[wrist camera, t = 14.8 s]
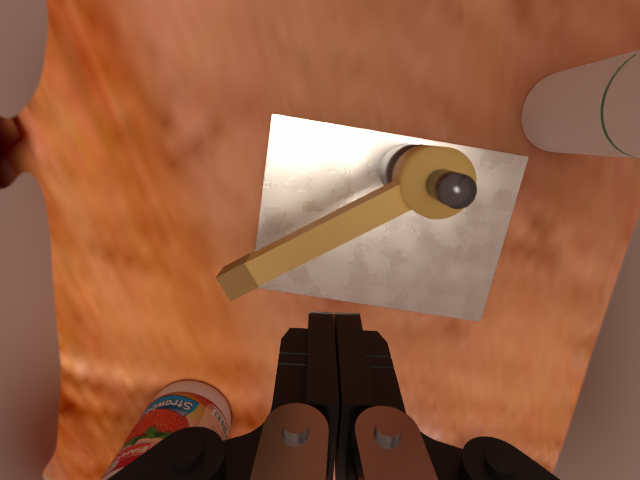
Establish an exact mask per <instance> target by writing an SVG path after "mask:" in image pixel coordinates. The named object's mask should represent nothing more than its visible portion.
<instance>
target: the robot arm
mask: <svg viewBox="0 0 640 480" xmlns="http://www.w3.org/2000/svg"><path fill="white" fill-rule="evenodd" d="M393 367H394V366H393V362H392V359H391V355H390V351H389V347H388V344H387V342H386V341H385V339H384V338H383V337H382V336H381V335H380V334H379V333H378V332H377V331H363V329H362V324H361V318H360V314H359V313H339V312H335V314H334V317H333V312H310V311H309V320H308V329H305V328H290V329H289V330H288V331H287V332H286V334H285V335H284V336H283V337H282V339H281V345H280V354H279V360H278V367H277V374H276V381H275V388H274V396H273V403H272V409H271V412H270V414H269V415H268V416H267V418H266V420H265V422H264V423H263V424H262V425H261V426H260V427H258V428H257V429H255V430H254V431H252V432H250V433H248V434H245V435H242V436H239V437H235V438H231V439H227V440H224V441H223V440H222V439H221V437H220V436H219V435H218V434H217V433H216V432H215V431H213V430H211V429H209V428H205V427H198V426H195V427H187V428H183V429H180V430H178V431H175V432H173V433H172V434H170V435H168V436H167V437H165V438H164V439H163V440H161V441H160V442H158V443H157V444H156V445H154V446H153V447H152V448H150V449H149V450H147V451H146V452H145V453H143V454H142V455H140V456H139V457H138V458H136V459H135V460H133V461H132V462H131V463H129V464H128V465H126V466H125V467H124V468H122V469H121V470H119V471H118V472H117V473H115V474H114V475H113V476H111V477H110V478H108V479H107V480H333V471H334V460H335V479H336V480H560V479H558V478H557V477H555V476H554V475H553V474H551V473H550V472H549V471H547V470H546V469H545V468H543V467H542V466H540V465H539V464H538V463H536V462H535V461H533V460H532V459H531V458H529V457H528V456H527V455H525V454H524V453H522V452H521V451H520V450H518V449H517V448H515V447H514V446H512V445H511V444H509V443H507V442H505V441H502V440H500V439H497V438H493V437H476V438H473V439H471V440H470V441H468V442H467V443H466V445H465V446H464V448H463V449H461V448H458V447H454V446H451V445H448V444H445V443H442V442H439V441H436V440H434V439H432V438H430V437H428V436H426V435H425V434H423V433H422V432H420V430H419V428H418V426H417V425H416V423H415V422H414V421H413V419H412V418H411V417H409V416H408V415H407V414H406V411H405V408H404V404H403V400H402V396H401V393H400V389H399V385H398V381H397V377H396V374H395V370H394V368H393Z"/></svg>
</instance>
